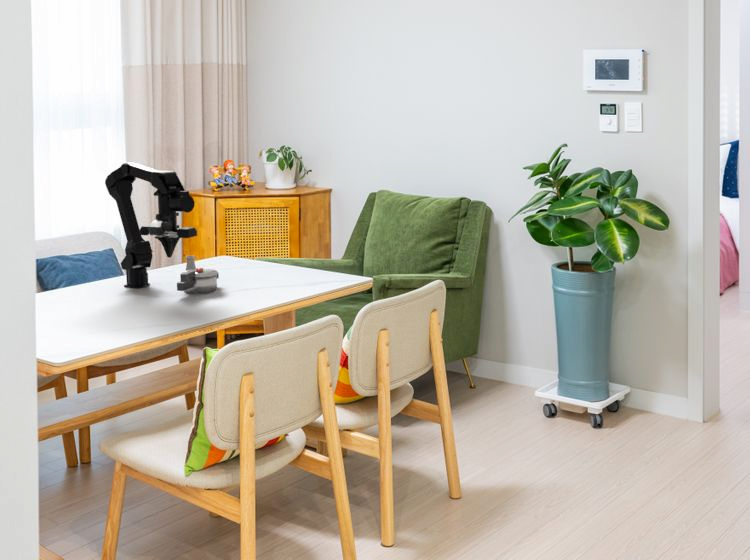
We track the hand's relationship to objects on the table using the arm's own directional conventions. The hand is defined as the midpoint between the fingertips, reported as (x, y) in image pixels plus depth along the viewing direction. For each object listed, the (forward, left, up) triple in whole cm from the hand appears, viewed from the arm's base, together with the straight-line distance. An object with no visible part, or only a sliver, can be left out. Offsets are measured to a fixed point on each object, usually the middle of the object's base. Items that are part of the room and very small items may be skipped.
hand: (169, 257), depth 313 cm
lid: (+7, +4, -7) cm, 11 cm away
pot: (+7, +5, -12) cm, 15 cm away
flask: (-1, +14, -12) cm, 19 cm away
